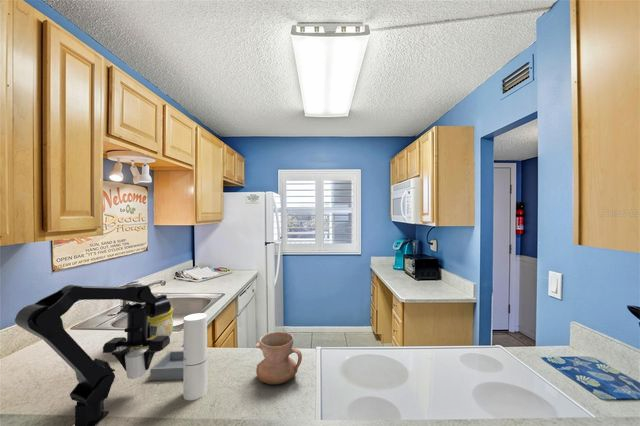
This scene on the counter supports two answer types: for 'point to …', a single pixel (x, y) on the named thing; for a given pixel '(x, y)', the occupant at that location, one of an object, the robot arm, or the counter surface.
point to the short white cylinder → (135, 363)
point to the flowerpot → (160, 326)
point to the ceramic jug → (277, 358)
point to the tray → (168, 367)
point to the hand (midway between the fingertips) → (137, 370)
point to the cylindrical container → (195, 356)
